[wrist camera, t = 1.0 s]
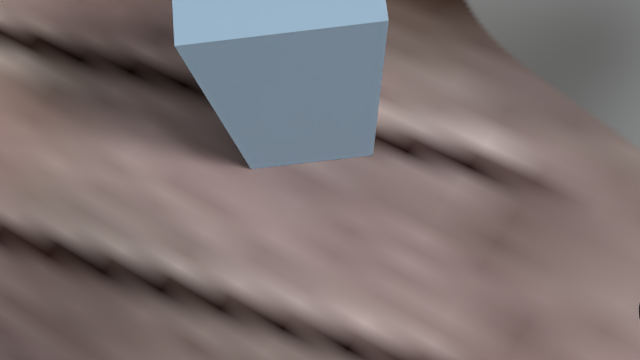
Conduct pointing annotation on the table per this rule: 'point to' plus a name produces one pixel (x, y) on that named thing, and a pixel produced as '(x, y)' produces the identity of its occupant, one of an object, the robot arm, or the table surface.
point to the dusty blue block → (288, 73)
